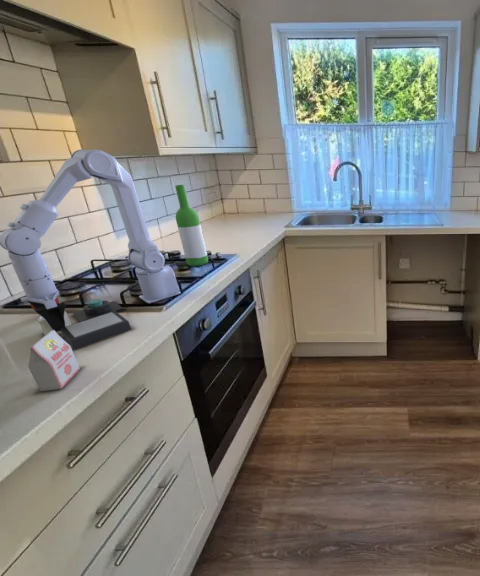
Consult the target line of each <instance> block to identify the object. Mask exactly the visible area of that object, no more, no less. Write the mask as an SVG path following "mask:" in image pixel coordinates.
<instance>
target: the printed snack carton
mask: <svg viewBox="0 0 480 576" xmlns="http://www.w3.org/2000/svg"><path fill="white" fill-rule="evenodd" d="M29 352H30V353H29V360H28V365H27V368H28V369H29V370H28V371H29V372H30V373H31V375H32V379H33V380H34V381H35V383H36V386H37V388H38V389H39V392H46V391H47V392H48V391H52V390H53V391H54V390H62V389H63V388H64V387H65V386H66V384H68V382H70V380H71V379H73V377H74V376H75V375H76V374H77V373H78V372H79V371H80V370H81V367H80V365H79V362H78V360H77V358H76V356H75V353H74V351H73V349H72V346H71V345H70V344H69V342H68V341H66V340H65V339H63V338H62V337H61V336H60V335H58V334H57V333H56V332H55V330H53V331H50V332H49V333H48V334H46V335H44V336H43V337H41V338H40V339H39V340H37V341H36V342H35V343H34V344H32V345H31V346H30V347H29Z"/></svg>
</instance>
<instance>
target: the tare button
mask: <svg viewBox="0 0 480 576" xmlns="http://www.w3.org/2000/svg"><path fill="white" fill-rule="evenodd" d="M102 301H103V300H102V299H101V298H96V299H95V298H94V299H91V300H89V301H88V302H87V304H89V306H90V308H94V307H98V306H101V305H103V303H102Z"/></svg>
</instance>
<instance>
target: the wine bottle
mask: <svg viewBox="0 0 480 576" xmlns="http://www.w3.org/2000/svg"><path fill="white" fill-rule="evenodd" d="M174 188H175V191H176V196H177V200H178V205H179V209H178V210H177V211H176V213H175V221H176V225H177V230H178V234H179V237H180V242H181V246H182V250H183V253H184V258H185V261H186V264H187V266H188V267H200V266H203V265H206V264H208V263H209V257H208V251H207V247H206V242H205V238H204V235H203V229H202V226H201V221H200V217H199V214H198V212H197V211H196V210H195V209H193V208H192V207H190V203H189V199H188V195H187V191H186V187H185V185H184V184H177V185H175V187H174Z"/></svg>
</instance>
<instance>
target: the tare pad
mask: <svg viewBox="0 0 480 576" xmlns="http://www.w3.org/2000/svg"><path fill="white" fill-rule="evenodd" d="M102 303H103V305H101V306H98V307H94V308H90V306H89V303H87V304H85V305H84V306H83V307H82V309H83V310H79V311H76V312H73V314H72V315H73V316H74V317H75V318H76V319H77V320H78V321H79V322H82V321H85V320H88V319H91V318H94V317H98V316H101V315H104V314H107V313H110V312H113V311H116V312H117V313H119V312H122V311H124V310H125V309H124V307H122V305H120V304H119V303H117V302H116V301H114V300H113V301H108V300H102Z"/></svg>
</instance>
